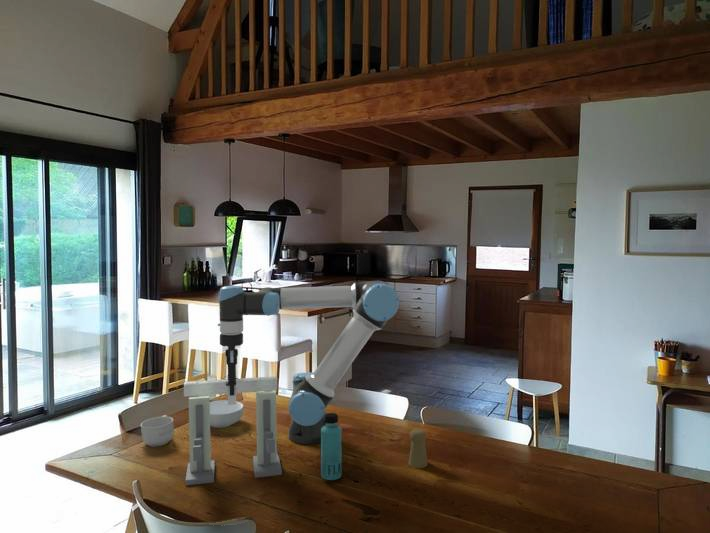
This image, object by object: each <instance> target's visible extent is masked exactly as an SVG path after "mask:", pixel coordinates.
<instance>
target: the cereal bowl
mask: <svg viewBox="0 0 710 533" xmlns="http://www.w3.org/2000/svg"><path fill="white" fill-rule="evenodd" d="M243 414H244V404H243V403H242V402H240V401H237V400H236V404H235V405H228V399H227V400H226V399H223V400H221V399H220V400H214V401H210V427H211V428H215V429H223V428H228V427H230V426H231V425H234V424H235V423H237V422H239V421H240V420H241V419H242V417H243Z"/></svg>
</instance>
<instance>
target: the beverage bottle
mask: <svg viewBox="0 0 710 533" xmlns="http://www.w3.org/2000/svg"><path fill="white" fill-rule="evenodd" d="M324 422H325V423H328V424H326V425H324V426H323V427H322V428H321V442H320V452H321V453H320V475H321V478H322V479H325V480H329V481H335V480H339V479H340V478H341V477H342V474H343V451H342V449H343V439H342V438H343V437H342V427H341V426H340V425H339V424H337V423H338V422H339V416H338V413H335V412H329V413H325V418H324Z"/></svg>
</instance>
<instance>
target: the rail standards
mask: <svg viewBox="0 0 710 533" xmlns="http://www.w3.org/2000/svg"><path fill="white" fill-rule="evenodd" d="M210 396H211V395H201V396H188V425H189V426H188V429H189V430H188V432H189V434H188V435H189V439H188V440H189V462H187V468H186V474H185V486H193V485H201V484H212V483H213V484H214V482H215V468H216V466H215V460H214V459H212V456H211V453H212V451H211V449H212V448H211V426H210V402H211V401H210V400H211V399H210ZM255 396H256V397H255V400H256V404H255V406H256V407H255V408H256V455H253V456H252V462H253V470H254V477H255V478H254V479H256V478H265V477H275V476H281V475H283V469H282V465H281V461H280V457H279V454H278V450H277V448H278V444H277V442H278V440H277V437H278V436H277V432H278V431H277V430H278V429H277V391H262V392H255ZM211 459H212V460H211Z"/></svg>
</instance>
